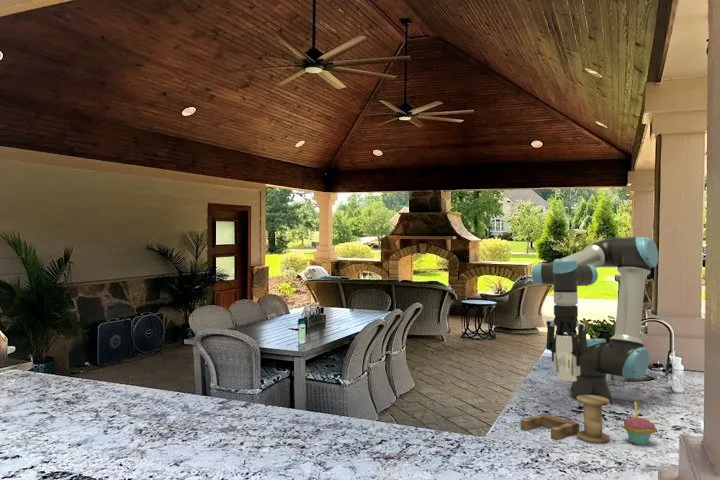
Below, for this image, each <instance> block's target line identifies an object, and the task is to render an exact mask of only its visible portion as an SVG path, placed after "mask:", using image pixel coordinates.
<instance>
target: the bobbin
mask: <svg viewBox="0 0 720 480" xmlns="http://www.w3.org/2000/svg"><path fill="white" fill-rule="evenodd" d="M576 402H578V403H580V404H583V428H584V429H583V430H579V432H577V434H576V437H577V439H579V440H581V441H583V442H585V441H586V442H585V443H591V444H599V445H600V444H601V445H602V444H608V443H609V442H610V439H611V438H610V436H609V434H606V433H604V432H603V409H602V408H603V406H604V407H605V406H608V405H609V404H610V401H609V399H607V398H605V397H601V396H595V395H579V396H577V399H576Z"/></svg>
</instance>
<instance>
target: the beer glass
mask: <svg viewBox="0 0 720 480" xmlns="http://www.w3.org/2000/svg"><path fill="white" fill-rule="evenodd" d="M555 335H556V341H555V349H556V356H557V361H558V367H559V371H558V372H557V380H558V381H561V382H569V383H571V382H572V383H573V382H574V381H577V377H576V376H574V373H573V356H574V355H575V352H574V349H573V338H572V336H568V333H566V332H564V334H563V336H560V335H557V334H556V333H555Z"/></svg>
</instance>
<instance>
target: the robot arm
mask: <svg viewBox="0 0 720 480" xmlns="http://www.w3.org/2000/svg"><path fill="white" fill-rule="evenodd" d="M658 263H659V251H658V247H657V245H656V243H655V241H654V240H653V239H651V238H650V237H647V236H645V237H643V236H635V237H634V236H629V237H610V238H605V239H602V240H598V241H595V242H593V243H592V244H587V245H586V246H585V247H584V248H583V249H582V250H580V251H577V252H575V253H572V254H570V255H567V256H564V257H561V258H556V259H554V260H553V261H551V262H548V263H540V264H539V263H537V264H535V265H534V266H533V267H532V270H531V278H532V281H533V282H534V283H535V284H537V285H543V286H545V285H548V286H549V285H550V286H552V285H553V303H554V304H555V305H553V316H554V319H553V320H547V321H546V327H547V332H546V345H545V346H546V350H548V351H550V352H551V362H552V363H553V372H554V373H558V371H559V367H558V361H557V356H556V349H555V341H556V334H557V335H560V336H563V334H564V333H567V334H568V336H572V338H573V349H574V352H575V355H574V356H573V373H574V376H576V377H577V381H574V382H572V383H571V387H570V389H569V396H570V397H571V398H572V397H573V398H572V399H574V398H575V399H574V400H577V396H579V395H595V396H601V397H605V398H607V399H609V402H611V401H612V400H613V399H612V392H611V389H610V385H609V382H608V381H607V375H610V376H616V377H620V378H621V377H622V378H624V379H625V378H626V379H640V378H641V377H643V376H644V375H645V373H646V372H647V370H648V368H649V364H650V356H649V354H650V353H649V351H648V349H647V348H645V347H644V342H643V341H642V340H641V331H642V329H641V328H642V326H641V325H642V319H643V318H642V317H643V307H644V298H645V297H644V296H645V288H646V287H645V286H646V277H647V276H649V275H650V274H651V272H652V271H651V270H652V268H656V266H658ZM600 267H617V268H616V270H617V271H618V272H619V273H620V280H619V291H618V298H617V299H618V300H617V309H616V318H615V319H616V320H615V325H614V327H615V328H614V335H612V336H611V337H609V342H608V343H607V341H606V339H605V338H587V332H586V330H587V326H588V325H587V324H586V323H581V322H579V320H578V315H579V310H578V307H579V306H578V305H577V304H578V287H588V286H591V285H593V284H595V283H596V282H597V280H598V277H599V273H598V270H597V268H600ZM555 326H556V327H555ZM577 331H578V332H577ZM611 399H612V400H611Z"/></svg>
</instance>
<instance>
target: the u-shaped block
mask: <svg viewBox="0 0 720 480" xmlns="http://www.w3.org/2000/svg"><path fill="white" fill-rule="evenodd" d="M540 427H544V428H548V429H550V439H552V440H554V441H558V440H561V439H565V438H568V437H571V436H574V435H577V432H579V431H580V423H579V422H575V421H573V420H568V419H565V418H561V417H557V416H553V415H549V414H546V413H540V414H536V415H533V416H529V417H526V418H522V419H520V430H522V431H524V432H526V431H530V430H533V429H537V428H540Z"/></svg>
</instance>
